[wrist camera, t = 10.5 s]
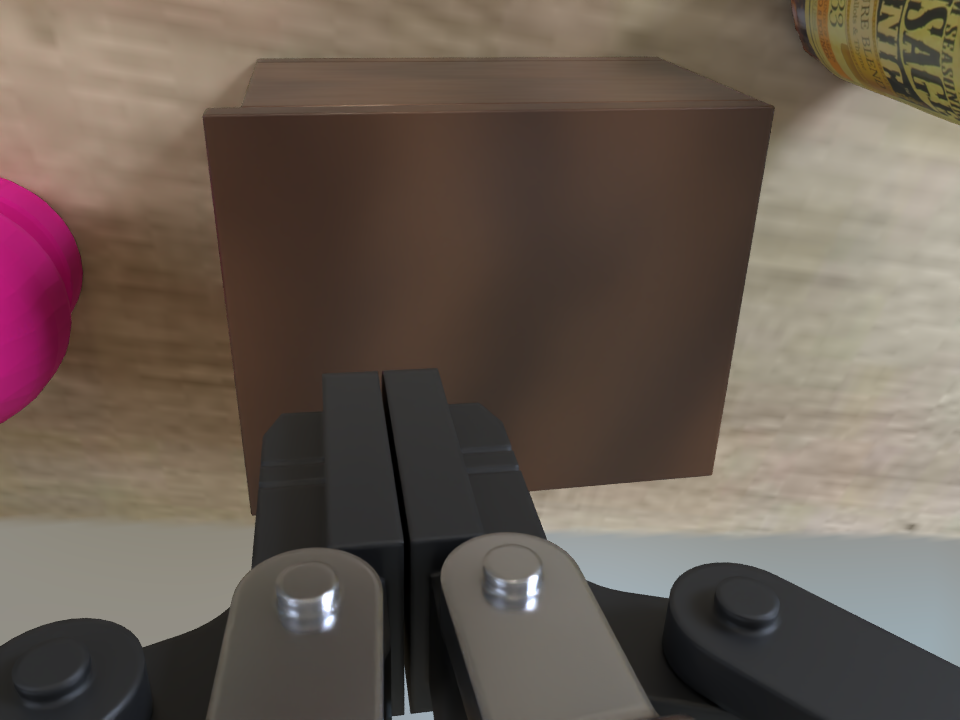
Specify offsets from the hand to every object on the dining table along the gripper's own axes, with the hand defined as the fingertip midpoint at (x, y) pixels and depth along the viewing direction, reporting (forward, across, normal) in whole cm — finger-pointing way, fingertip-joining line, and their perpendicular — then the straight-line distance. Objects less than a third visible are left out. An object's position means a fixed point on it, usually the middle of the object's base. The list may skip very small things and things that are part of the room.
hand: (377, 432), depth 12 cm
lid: (+12, -4, +4) cm, 14 cm away
